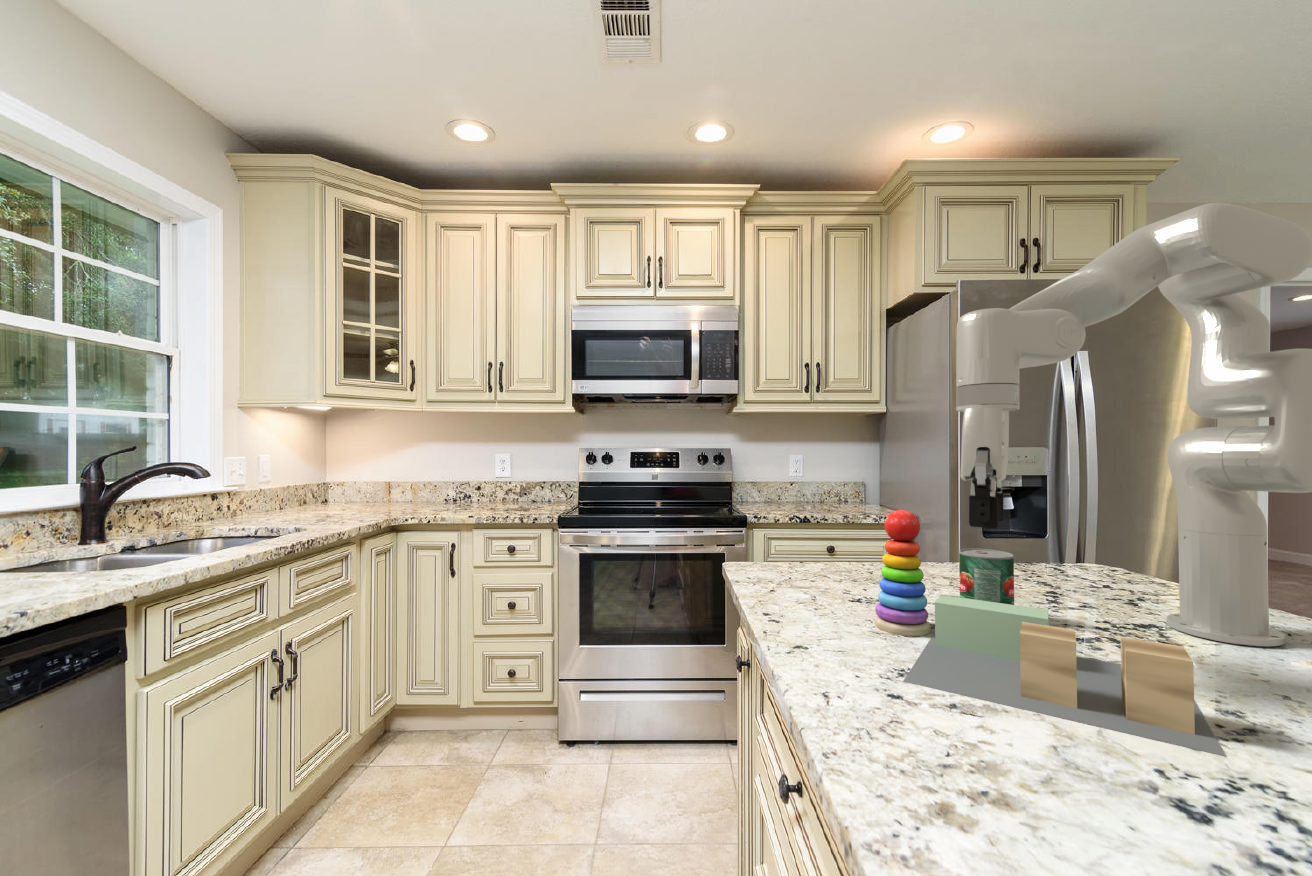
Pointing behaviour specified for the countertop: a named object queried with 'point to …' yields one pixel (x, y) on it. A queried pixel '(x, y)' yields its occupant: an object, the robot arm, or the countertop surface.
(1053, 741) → the countertop surface
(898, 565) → the stacking toy
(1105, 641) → the countertop surface
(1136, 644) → the pillar
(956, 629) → the beam
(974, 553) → the canned tomato
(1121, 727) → the mat
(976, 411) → the robot arm
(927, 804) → the countertop surface
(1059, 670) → the pillar
